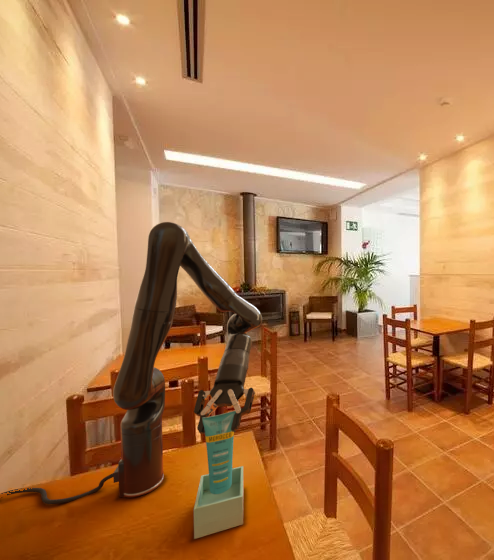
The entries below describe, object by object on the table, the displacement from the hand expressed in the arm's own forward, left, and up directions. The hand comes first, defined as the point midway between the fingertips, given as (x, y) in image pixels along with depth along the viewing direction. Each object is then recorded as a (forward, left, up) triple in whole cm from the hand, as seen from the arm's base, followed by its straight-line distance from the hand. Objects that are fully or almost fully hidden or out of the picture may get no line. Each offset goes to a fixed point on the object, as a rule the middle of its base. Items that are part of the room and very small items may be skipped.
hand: (217, 431), depth 74 cm
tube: (+1, +2, -16) cm, 16 cm away
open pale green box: (0, +1, -22) cm, 22 cm away
